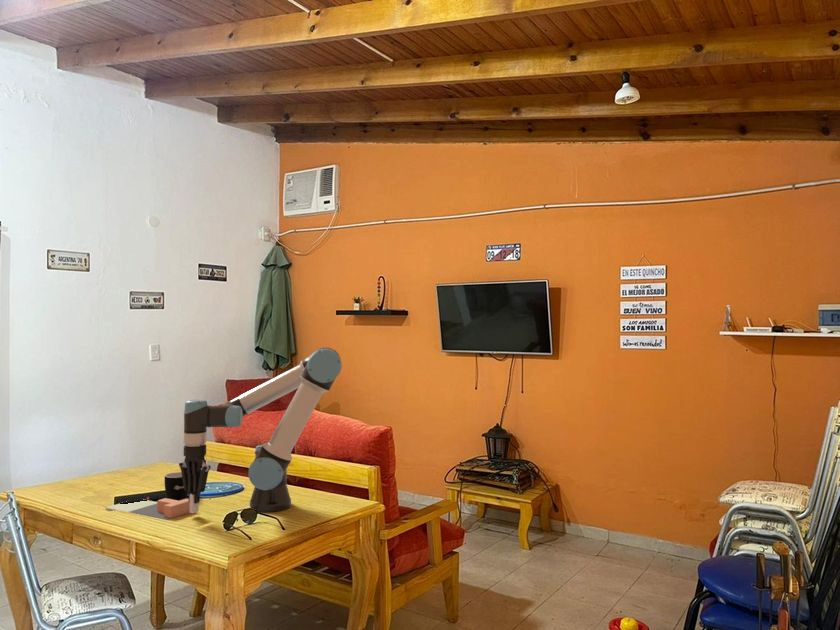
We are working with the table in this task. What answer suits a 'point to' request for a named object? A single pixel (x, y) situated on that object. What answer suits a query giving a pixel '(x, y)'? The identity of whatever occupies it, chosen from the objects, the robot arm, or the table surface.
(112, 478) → the table surface
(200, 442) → the robot arm
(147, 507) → the mat
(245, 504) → the table surface
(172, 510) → the t block
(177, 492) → the mug
